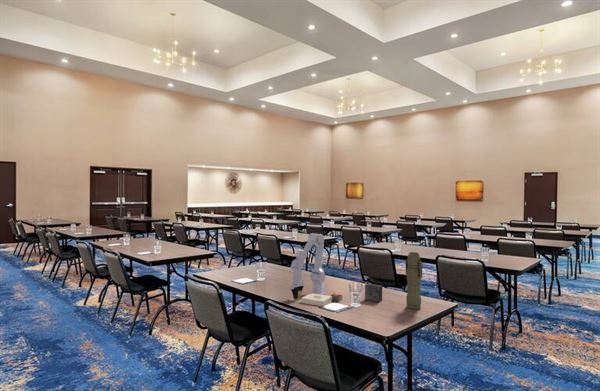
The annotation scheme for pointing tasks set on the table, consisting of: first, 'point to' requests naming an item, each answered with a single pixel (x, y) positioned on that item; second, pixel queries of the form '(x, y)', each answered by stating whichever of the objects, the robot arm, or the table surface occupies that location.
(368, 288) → the small box
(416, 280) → the thermos
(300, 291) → the billet
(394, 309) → the table surface
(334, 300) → the button console
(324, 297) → the block
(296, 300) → the billet mat
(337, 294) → the button cap
